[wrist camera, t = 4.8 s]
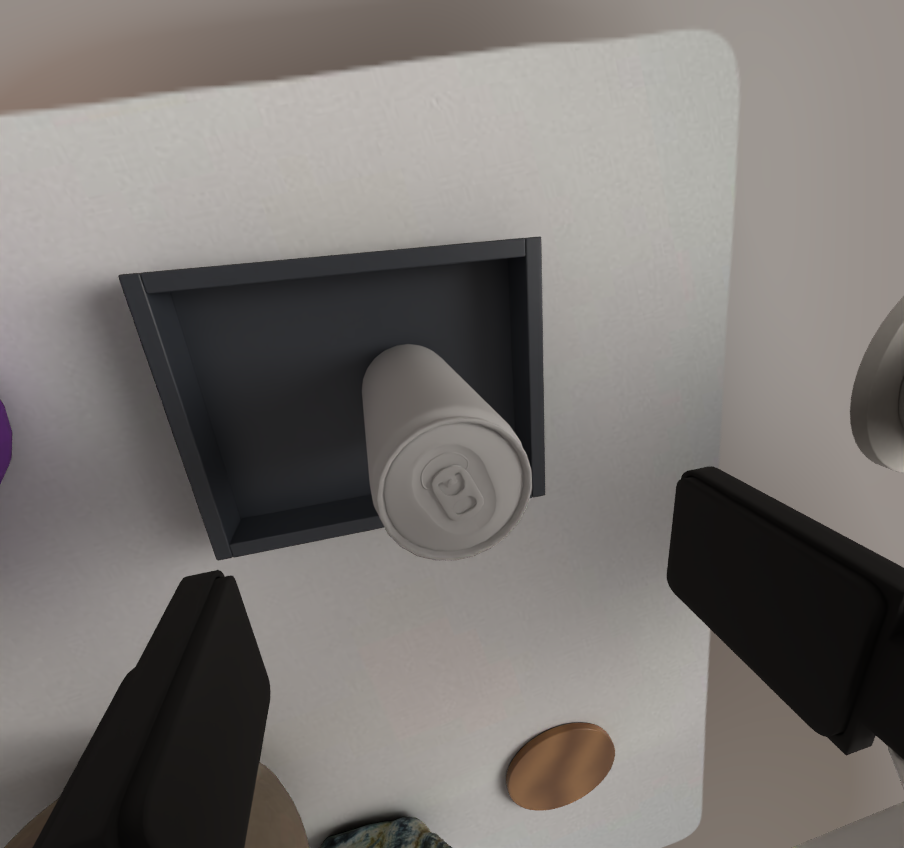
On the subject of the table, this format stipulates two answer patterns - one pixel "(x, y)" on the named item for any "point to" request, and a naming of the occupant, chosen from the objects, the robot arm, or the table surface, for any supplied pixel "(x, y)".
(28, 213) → the table surface
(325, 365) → the tray
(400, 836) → the seashell
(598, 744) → the copper pad
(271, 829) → the bowl
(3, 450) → the mug
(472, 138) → the table surface
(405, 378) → the beverage can
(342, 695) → the table surface
